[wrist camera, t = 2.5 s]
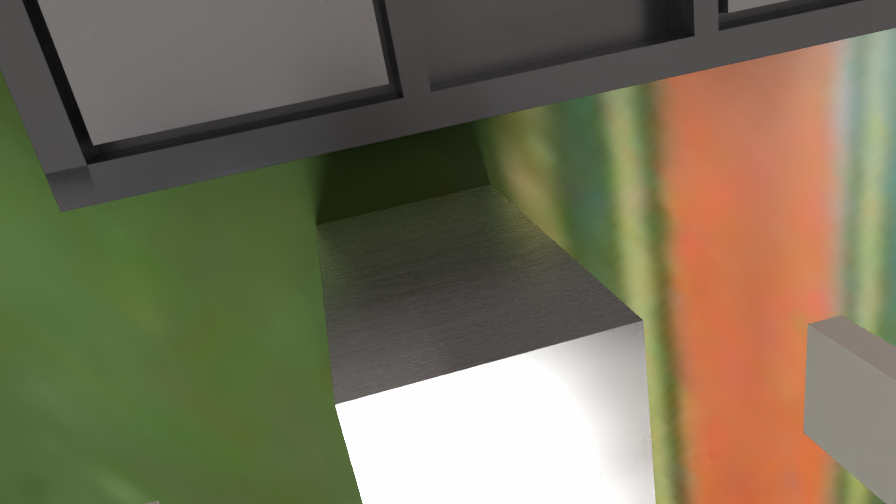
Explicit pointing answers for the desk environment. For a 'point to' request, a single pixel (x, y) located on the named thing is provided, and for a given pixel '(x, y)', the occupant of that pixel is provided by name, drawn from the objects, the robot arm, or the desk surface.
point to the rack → (345, 72)
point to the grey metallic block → (481, 360)
